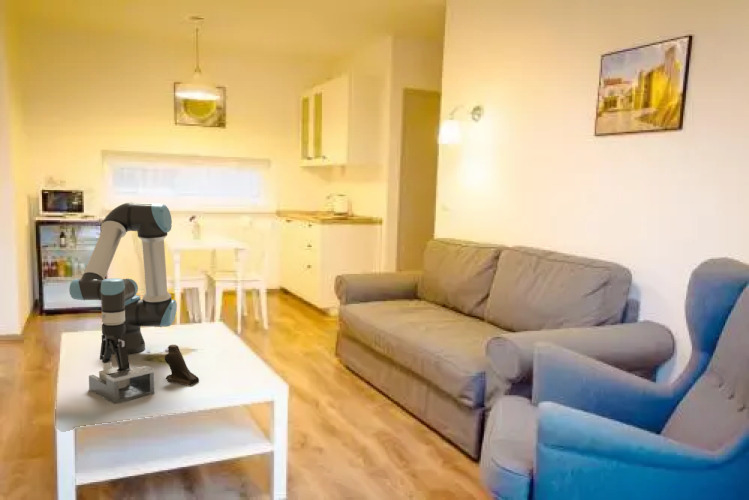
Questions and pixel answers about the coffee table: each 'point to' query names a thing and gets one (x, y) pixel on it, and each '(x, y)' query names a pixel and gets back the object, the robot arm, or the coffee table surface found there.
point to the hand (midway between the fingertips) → (114, 383)
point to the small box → (103, 373)
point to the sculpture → (178, 368)
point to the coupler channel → (138, 386)
